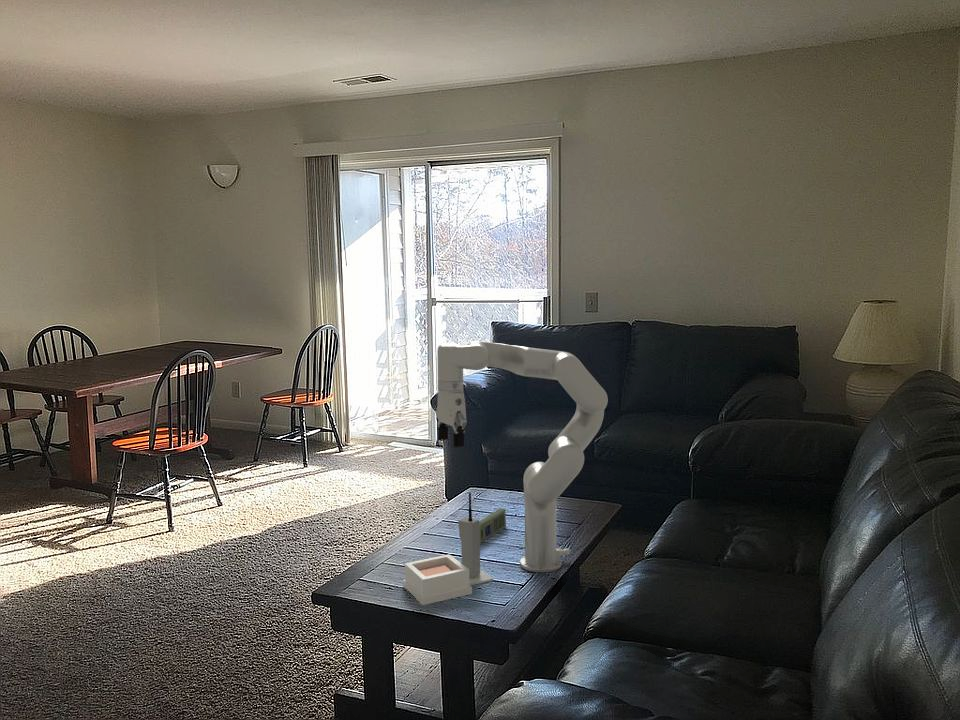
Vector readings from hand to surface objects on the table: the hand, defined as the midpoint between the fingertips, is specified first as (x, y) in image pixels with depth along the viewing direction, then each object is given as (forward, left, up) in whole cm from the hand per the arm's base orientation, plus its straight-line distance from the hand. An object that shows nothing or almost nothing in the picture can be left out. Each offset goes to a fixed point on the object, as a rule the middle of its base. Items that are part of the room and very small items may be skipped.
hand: (450, 443), depth 237 cm
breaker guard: (+11, +12, -39) cm, 42 cm away
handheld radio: (-21, -18, -39) cm, 48 cm away
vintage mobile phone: (-1, +9, -38) cm, 39 cm away
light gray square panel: (-1, +9, -39) cm, 40 cm away
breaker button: (+11, +12, -36) cm, 40 cm away
